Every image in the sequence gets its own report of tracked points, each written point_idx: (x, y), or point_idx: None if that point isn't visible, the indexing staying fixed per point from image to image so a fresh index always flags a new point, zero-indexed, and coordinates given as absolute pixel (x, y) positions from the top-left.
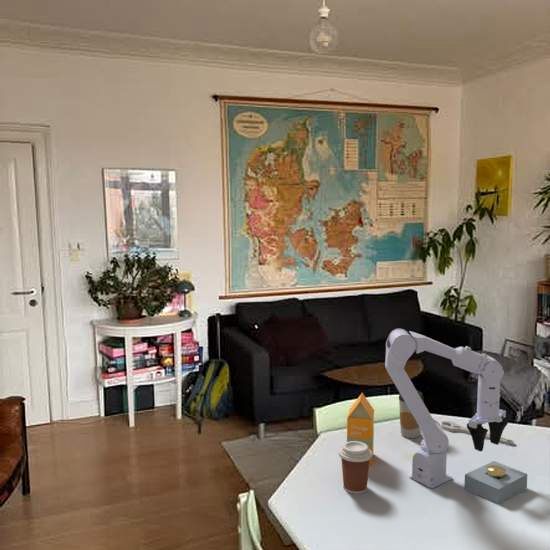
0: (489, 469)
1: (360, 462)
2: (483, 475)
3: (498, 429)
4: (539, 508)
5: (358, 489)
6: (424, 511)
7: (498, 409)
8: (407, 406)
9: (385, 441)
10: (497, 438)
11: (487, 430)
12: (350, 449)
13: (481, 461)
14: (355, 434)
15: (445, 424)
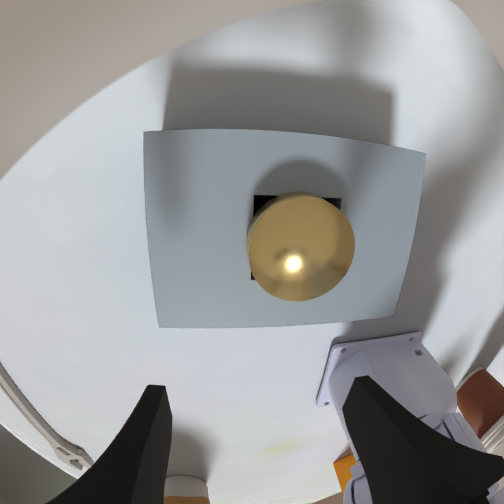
0: (338, 270)
1: None
2: (355, 269)
3: (140, 498)
4: (294, 24)
5: (486, 371)
6: (500, 266)
7: None
8: None
9: (259, 483)
10: (157, 427)
11: (477, 488)
12: None
13: (125, 361)
14: None
15: (76, 462)
